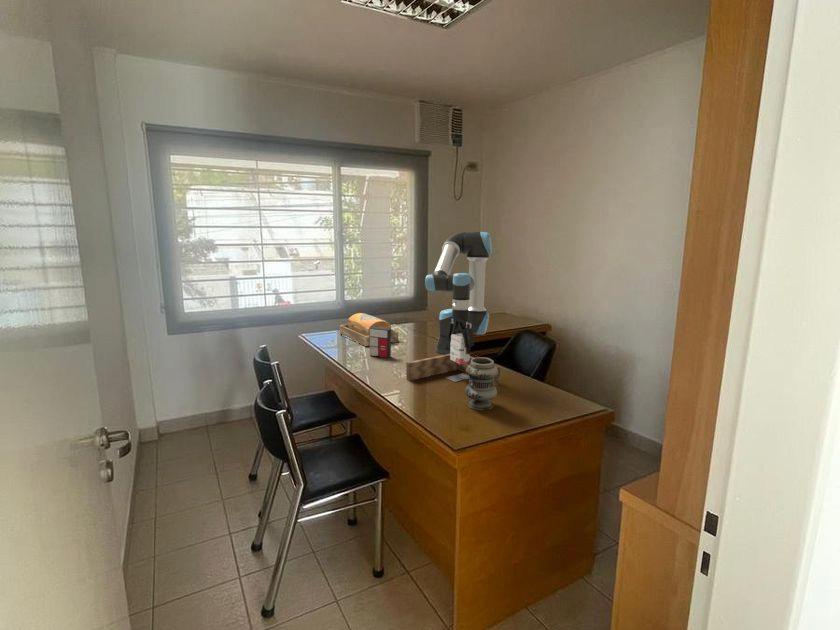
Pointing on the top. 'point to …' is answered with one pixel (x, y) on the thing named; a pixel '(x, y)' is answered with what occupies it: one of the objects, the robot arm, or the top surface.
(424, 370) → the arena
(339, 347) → the top surface
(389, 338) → the grey and red box
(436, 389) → the top surface
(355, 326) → the orange rounded block
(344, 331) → the crate
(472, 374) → the apothecary jar
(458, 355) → the ink box
